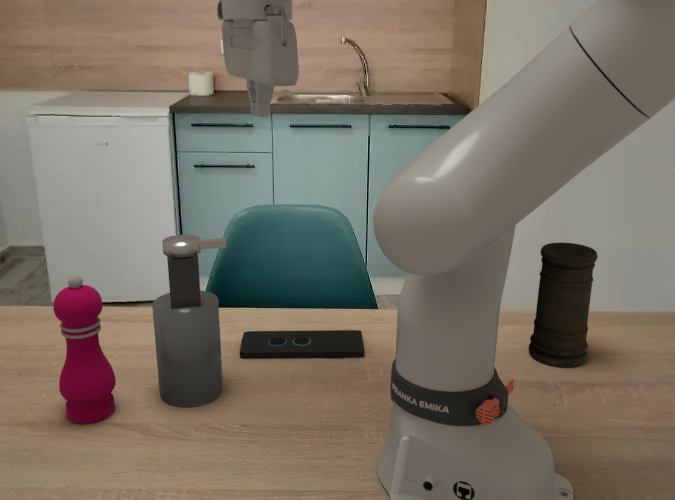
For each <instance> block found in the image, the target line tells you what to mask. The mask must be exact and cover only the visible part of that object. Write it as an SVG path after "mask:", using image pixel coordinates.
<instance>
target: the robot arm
mask: <svg viewBox="0 0 675 500" xmlns="http://www.w3.org/2000/svg"><path fill="white" fill-rule="evenodd" d="M216 17H217V20H219V21H222V24H221V38H222V39H221V41H222V50H223V57H224V58H223V59H224V65H225V70H226V72H227V74H228V75H229V76H233V77H236V78H240V79H244V80H245V81H246V90H247V94H248V97H249V101H250V112H251V114H252V115H254V116H257V117H259V118H267V117H270V116H271V102H272V99H273V95H274V91H275V90H274V89H275V87H294V86H296V85H297V84H298V79H299V72H300V70H299V68H300V67H299V52H298V39H297V33H296V27H295V25H294V24H293V22H292V20H293V0H219V1H218V3H217V4H216ZM566 27H567V28H565V29H564V30H563V31H562V32H561V33H560V34H559V35H557V36H556V37H555V38H554V39H553V40H552V41H551V42H550V43H549V44H548V45H547V46H546V47H544V48H542V50H541V51H540V52H538V54H536V55H535V56H534V57H533V58H532V59H531V60H530V61H529V62H527V64H525V65H524V66H523V67H522V68H521V69H520V70H518V72H517V73H516V74H514V76H512V77H511V78H510V79H509V80H508V81H507V82H506V83H505V84H503V85H502V86H501V87H500V88H499V89H497V91H495V92H494V93H492V94H491V95H490V96H489V97H488V98H486V99H485V100H484V101H483V102H482V103H480V104H479V105H478V106H477V107H475V108H474V109H473V110H472V111H471V112H469V113H467V114H466V115H465V116H464V117H463V118H462V119H461V120H459V121H458V122H457V123H456V124H455V125H453V126H452V127H450V128H449V129H448V130H447V131H446V132H445V133H443V134H442V135H441V136H440V137H438V139H437V140H435V141H434V142H433V143H432V144H430V146H428V147H427V148H426V149H424V150H423V152H421V153H420V154H418V155H417V157H416V158H414V159H413V160H412V161H410V163H408V164H407V165H406V166H405V167H404V168H403V169H401V170H400V171H399V172H398V173H397V174H396V175H395V177H393V178H392V179H391V181H390V182H389V183H388V184H387V186H386V187H385V188H384V190H383V192H382V194H381V195H380V196H379V198H378V200H377V202H376V205H375V208H374V210H373V211H374V212H373V217H372V226H373V232H374V233H373V234H374V237H375V240H376V242H377V245H378V247H379V248H380V250H381V252H382V254H384V257H385V258H387V260H389V261H390V263H391V264H393V265H394V266H395V267H397V268H398V269H399V270H402V271H404V272H406V276H405V279H404V283H403V285H402V287H401V290H400V293H399V296H398V300H397V309H396V310H397V311H396V313H397V314H396V338H395V339H396V340H395V341H396V342H395V345H396V346H395V358H394V359H393V361H392V363H391V372H390V389H389V392H390V393H389V394H390V400H391V401H392V404H391V405H392V406H391V413H390V420H389V421H390V422H389V426H388V432H387V436H386V440H385V444H384V447H383V451H382V454H381V456H380V458H379V461H378V464H377V474H378V478H379V481H380V483H381V485H382V486H383V487H384V489H385V490H386V492H387V494H388V497H389V500H574V490H573V487H572V484H571V482H570V481H569V479H567V478H566V477H564V476H562V475H560V474H559V473H556V472H555V471H556V469H555V460H554V455H553V451H552V449H551V446H550V444H549V443H548V441H547V440H546V439H545V438H543V437H542V436H541V435H540V434H539V433H538V432H537V431H536V430H535V429H534V428H533V427H532V426H531V425H530V424H529V423H528V422H527V421H526V420H525V419H524V418H523V417H522V416H520V415H519V413H518V412H517V411H516V410H515V409H513V407H511V405H510V404H509V395H510V394H511V393H512V392H513V391H514V388H515V386H514V383H515V379H511V380H510V381H509V382H508V383H507V384H506V385H505V384H504V383H503V382H502V380H501V378H500V376H499V373H498V371H497V369H496V367H495V366H496V365H495V364H496V363H495V362H496V352H497V343H498V333H499V332H498V331H499V318H500V310H501V303H502V298H503V293H504V290H505V285H506V284H505V283H506V280H507V276H508V275H507V274H508V270H509V269H508V268H509V264H510V259H511V255H512V254H511V253H512V250H513V249H512V248H513V244H514V237H515V231H516V225H518V224H519V223H520V222H521V221H522V220H524V219H525V218H527V216H529V215H530V214H531V213H533V212H534V211H535V210H536V209H538V208H539V207H540V206H541V205H542V204H543V203H544V202H546V201H547V200H549V198H551V197H552V196H553V195H555V194H556V193H557V192H558V191H559V190H560V189H562V188H564V186H565V185H566V184H568V183H570V181H572V179H574V178H575V177H576V176H578V175H579V174H580V173H581V172H583V170H585V169H587V168H588V167H589V166H591V165H593V163H595V162H596V161H597V160H598V159H600V158H601V157H602V156H603V155H605V154H606V153H607V152H609V151H610V150H611V149H612V148H614V147H615V146H617V145H618V144H619V143H620V142H622V141H623V140H625V139H626V137H629V136H630V135H631V134H632V133H634V132H635V131H636V130H637V129H638V128H640V127H641V126H643V125H644V124H645V123H647V122H648V121H649V120H651V119H652V117H653V118H654V116H656V115H657V114H658V113H660V112H661V110H663V109H664V108H666V107H667V106H668V105H669V104H670V103H672V102H673V101H674V100H675V0H596V1H595V2H594V3H593V4H592V5H591V6H589V8H587V10H585V11H584V12H583V13H582V14H580V16H578V17H577V18H576V19H575V20H574V21H573V22H572V23H571V24H570V25H568V26H566Z"/></svg>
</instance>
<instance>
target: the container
mask: <svg viewBox="0 0 675 500" xmlns="http://www.w3.org/2000/svg"><path fill="white" fill-rule="evenodd" d="M540 255H541V260H540V261H541V270H540V271H539V283H538V292H537V293H538V295H537V301H536V309H535V311H536V312H535V318H534V320H533V333H532V334H531V336H530V337H529V341H530V343H529V344H528V353H529V355H530V356H531V358H533V359H534V360H535V361H537V362H539V363H542V364H544V365H548V366H551V367H558V368H574V367H577V366H581V365H583V364H584V363H585V362H587V359H588V356H589V354H588V349H589V344H588V342H587V337H588V336H587V335H588V331H589V326H588V322H589V312H590V311H589V310H590V304H591V295H592V287H593V283H594V276H593V274H594V273H593V272H594V268H595V266H596V264H595V263H596V262H597V261H598V258H599V256H598V253H597V251H596V250H595V249H594V248H592V247H590V246H587V245H583V244H579V243H573V242H552V243H551V242H549V243H547V244H544V245H543V246H542V247H541V248H540Z"/></svg>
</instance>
